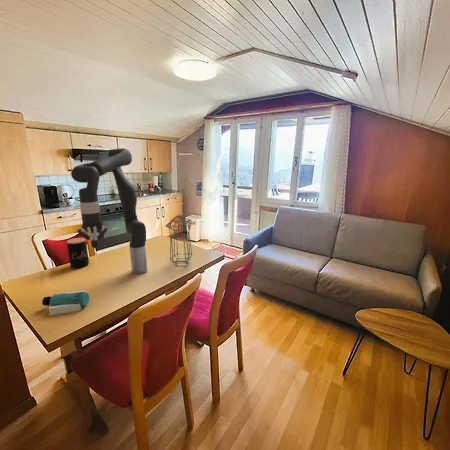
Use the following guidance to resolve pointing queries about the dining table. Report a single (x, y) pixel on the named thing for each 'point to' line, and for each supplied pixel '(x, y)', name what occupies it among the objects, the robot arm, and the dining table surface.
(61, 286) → the dining table surface
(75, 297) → the beverage bottle
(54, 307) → the cradle
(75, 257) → the coffee jar
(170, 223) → the geometric lantern
